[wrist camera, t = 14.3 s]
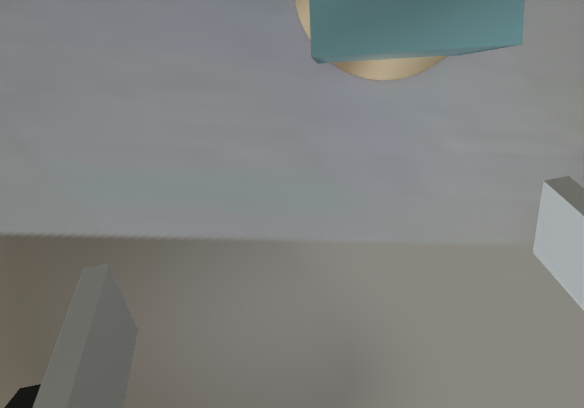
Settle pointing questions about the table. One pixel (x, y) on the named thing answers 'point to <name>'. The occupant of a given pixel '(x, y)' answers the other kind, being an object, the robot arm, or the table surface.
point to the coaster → (373, 68)
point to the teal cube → (411, 28)
